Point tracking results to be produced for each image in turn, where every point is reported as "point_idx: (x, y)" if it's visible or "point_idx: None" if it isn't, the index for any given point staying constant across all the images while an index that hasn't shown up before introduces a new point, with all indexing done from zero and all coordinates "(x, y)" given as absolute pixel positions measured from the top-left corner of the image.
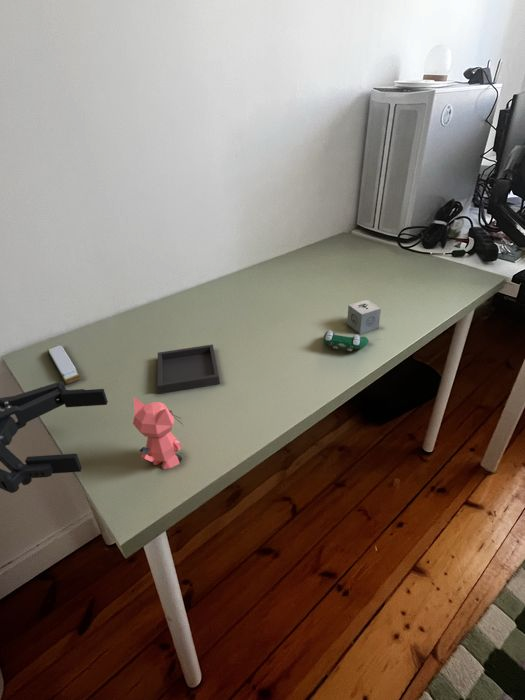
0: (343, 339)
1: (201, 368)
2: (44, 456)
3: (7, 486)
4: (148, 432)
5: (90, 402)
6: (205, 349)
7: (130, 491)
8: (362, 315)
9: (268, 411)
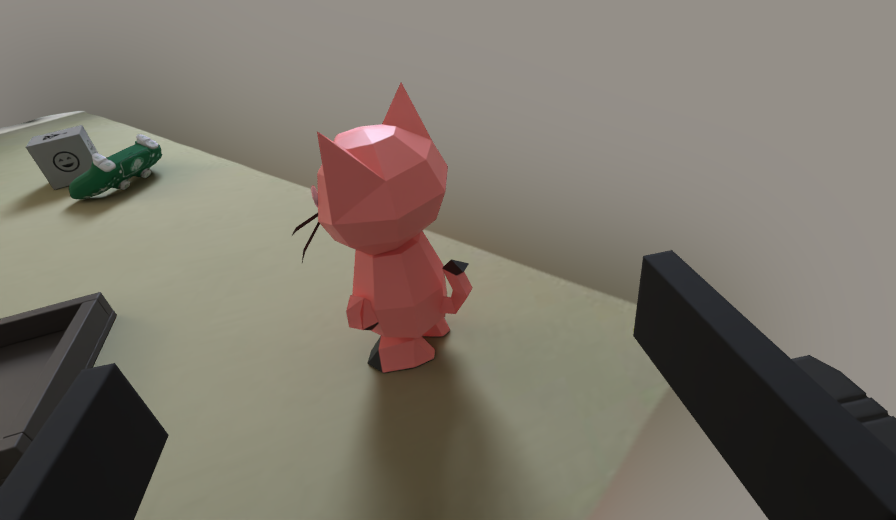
0: (131, 152)
1: None
2: (773, 381)
3: None
4: (445, 175)
5: (114, 510)
6: None
7: (546, 377)
8: (81, 136)
9: (275, 223)
